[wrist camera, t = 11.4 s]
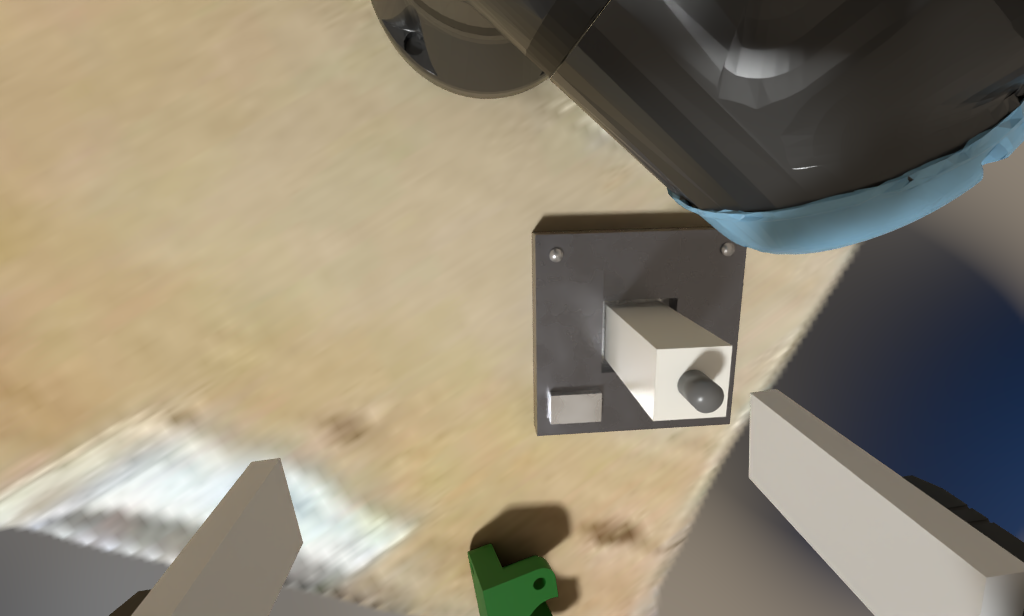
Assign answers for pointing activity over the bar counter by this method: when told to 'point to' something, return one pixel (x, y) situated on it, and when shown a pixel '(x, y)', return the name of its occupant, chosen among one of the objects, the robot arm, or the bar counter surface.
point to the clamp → (511, 584)
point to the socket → (616, 280)
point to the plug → (667, 361)
